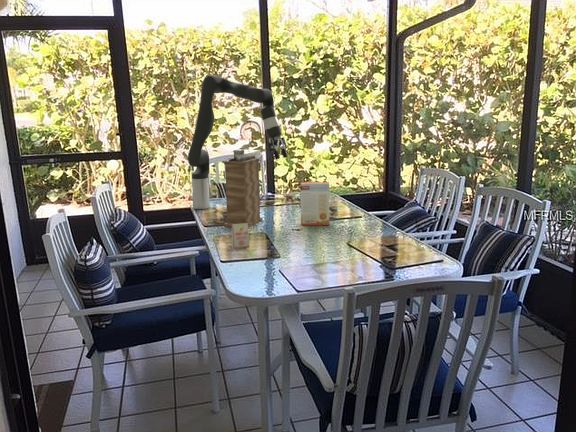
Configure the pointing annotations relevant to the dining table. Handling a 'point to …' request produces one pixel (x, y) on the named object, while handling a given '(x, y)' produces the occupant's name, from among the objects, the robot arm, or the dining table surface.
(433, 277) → the dining table surface
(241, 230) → the small beige carton
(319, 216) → the cracker box
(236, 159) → the steel bar
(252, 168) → the walnut stand
